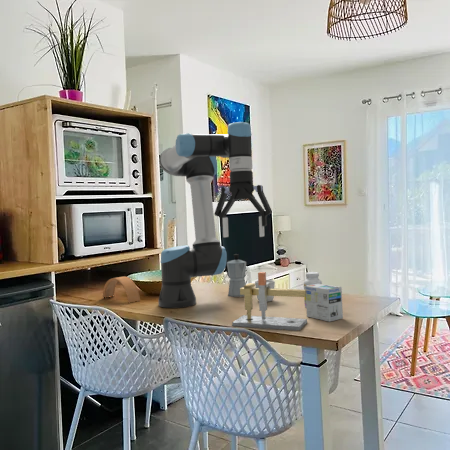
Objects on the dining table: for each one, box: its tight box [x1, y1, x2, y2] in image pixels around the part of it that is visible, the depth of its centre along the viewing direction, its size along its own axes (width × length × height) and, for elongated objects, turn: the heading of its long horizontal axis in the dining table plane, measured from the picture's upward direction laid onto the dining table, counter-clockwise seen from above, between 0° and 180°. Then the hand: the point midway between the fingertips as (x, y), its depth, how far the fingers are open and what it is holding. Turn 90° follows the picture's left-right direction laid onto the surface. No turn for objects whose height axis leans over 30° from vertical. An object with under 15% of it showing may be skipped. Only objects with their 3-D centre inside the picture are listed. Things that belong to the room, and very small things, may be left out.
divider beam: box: [240, 282, 307, 319], centre depth 149 cm, size 22×5×11 cm, turn 66°
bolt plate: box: [231, 314, 308, 331], centre depth 148 cm, size 22×10×1 cm, turn 66°
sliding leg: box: [257, 271, 270, 320], centre depth 150 cm, size 2×6×15 cm, turn 156°
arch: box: [102, 276, 141, 304], centre depth 201 cm, size 6×20×10 cm, turn 47°
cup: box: [254, 279, 276, 303], centre depth 184 cm, size 11×8×8 cm
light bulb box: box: [305, 283, 344, 322], centre depth 154 cm, size 11×7×11 cm, turn 35°
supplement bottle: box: [303, 271, 323, 308], centre depth 170 cm, size 7×7×13 cm
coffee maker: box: [224, 253, 247, 298], centre depth 201 cm, size 15×9×18 cm, turn 35°
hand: (243, 236), depth 150 cm, fingers open, 12 cm apart
